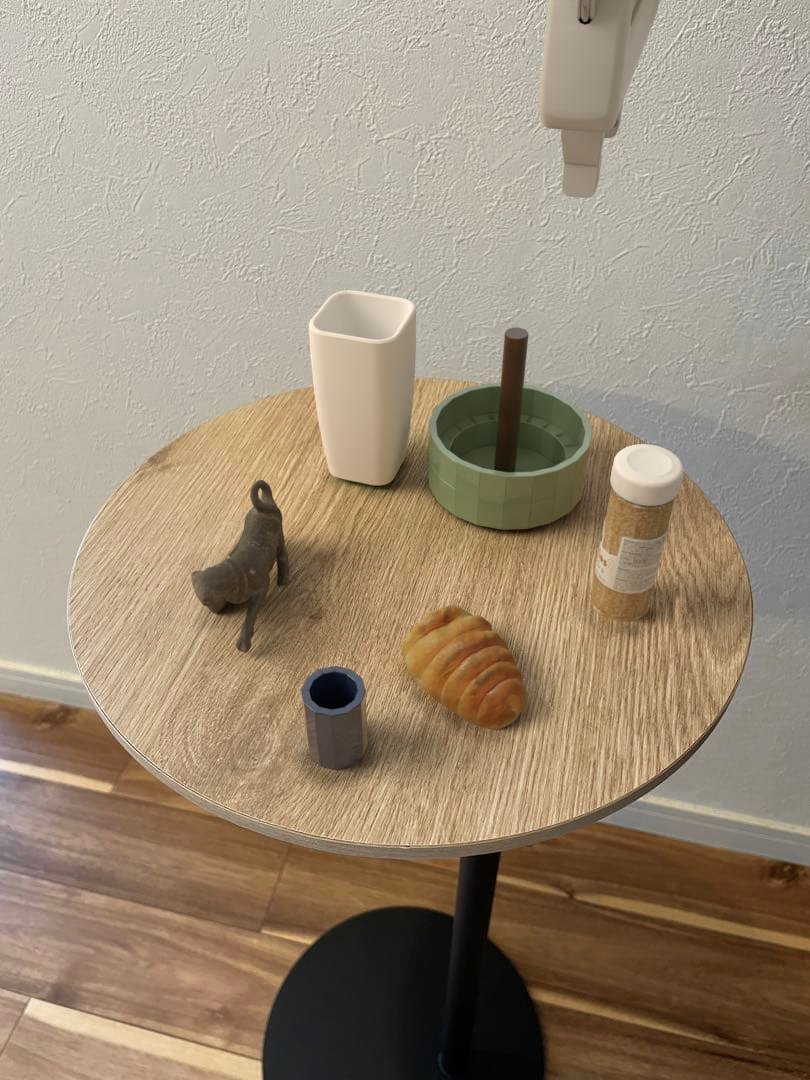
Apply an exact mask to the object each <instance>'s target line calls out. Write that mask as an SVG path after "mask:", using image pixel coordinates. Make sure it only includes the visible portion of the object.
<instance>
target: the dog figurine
mask: <svg viewBox="0 0 810 1080" xmlns="http://www.w3.org/2000/svg"><path fill="white" fill-rule="evenodd" d="M259 490H261V497H259ZM249 498H250V501H251V503H252V507H251V508H250V509H249V510H248V512H247V514H246V515H245V518H244V523H243V524H244V525H243V530H242V532H241V535H240V537H239V539H238V540H237V542H236V543H235V544H234V546H233V548H232V549H231V551H230V552H229V553H228V557H229V558H226V559H224V560H222V561H221V562H219V563H216V564H214V565H212V566H208V567H206V568H205V569H204V570H194V571H192V572H191V575H190V577H191V584H192V587H193V590H194V593H195V596H196V598H197V599H198V600H199V602H200V603H201V605H202V606H204V607H206V608H207V609H208V611H209V612H210V613H211V614H215V615H217V614H219V613H221V612H223V610H224V609H225V608H226V607H227V606H228V605H229V604H230V603H231V604H233V605H240V604H243V603H245V602H247V601H248V603H247V604H248V605H247V609H246V614H245V618H244V622H243V625H242V626H241V630H240V635H239V637H238V639H237V641H236V643H235V648H236V650H238V652H241V653H248V652H249V651H250V650H251V648H252V638H253V637H254V634H255V624H256V621H257V618H258V615H259V613H260V610H261V607H262V605H263V604H264V601H265V600H266V598H267V595H268V592H269V589H270V586H271V577H270V573H271V572H272V570H273V569H274V566H275V562H276V571H277V573H276V574H277V581H276V585H277V587H284V586H288V585H289V584H290V578H289V575H290V567H289V553H288V550H287V548H286V542H285V541H286V540H285V535H284V529H283V528H284V527H283V513H282V511H281V509H280V508H279V506H278V504H277V503H276V501H275V499H274V497H273V491H272V487H271V486H270V485H269V483H267V481H265V480H264V479H259V480H256V481H255V482H254V483H253V484H252V486H251V488H250V493H249Z"/></svg>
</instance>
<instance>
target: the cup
mask: <svg viewBox="0 0 810 1080" xmlns="http://www.w3.org/2000/svg"><path fill="white" fill-rule="evenodd" d="M308 334H309V335H308V337H309V338H308V339H309V352H310V365H311V373H312V383H313V393H314V400H315V406H316V413H317V421H318V426H319V431H320V436H321V443H322V447H323V450H324V455H325V459H326V463H327V464H326V465H327V468H328V471H329V474H330V475H332V476H333V477H335V478H338V479H341V480H345V481H349V482H354V483H359V484H364V485H368V486H373V487H375V486H376V487H380V486H385V485H388V484H390V483H391V482H393V480H395V478H396V476H397V474H398V472H399V471H400V469H401V467H402V464H403V463H404V461H405V459H406V454H407V449H408V443H409V436H410V430H411V421H412V414H413V407H414V406H413V405H414V393H415V379H416V360H417V359H416V358H417V356H416V355H417V354H416V353H417V306H416V305H415V303H414V302H412V301H411V300H410V299H407V298H404V297H399V296H392V295H386V294H380V293H379V294H378V293H372V292H367V291H359V290H351V289H347V290H340V291H337V292H335V293H333V294H331V295H330V296H329V297H327V299H326V300H325V301H324V303H323V304H322V305H321V306H320V307H319V309H318V310H317V311H316V313H315V314H314V315H313V316H312V318H311V319H310V320H309V322H308Z"/></svg>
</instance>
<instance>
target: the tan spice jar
mask: <svg viewBox="0 0 810 1080" xmlns="http://www.w3.org/2000/svg"><path fill="white" fill-rule="evenodd" d="M683 477H684V465H683V463H682V461H681V460H680V458H679V457H678V456H677V455H676V454H675V453H674V452H673V451H670V450H669V449H667V448H665V447H662V446H658V445H655V444H647V443H638V444H637V443H636V444H632V445H628V446H626V447H624V448H622V449H620V450H619V451H618V452H617V454H616V455H615V456H614V458H613V462H612V466H611V472H610V479H609V481H610V494H609V500H608V503H607V510H606V514H605V517H604V521H603V525H602V531H601V536H600V537H601V538H600V541H599V545H598V546H599V547H598V551H597V556H596V561H595V568H594V571H595V572H594V576H593V581H592V587H591V588H590V590H589V591H590V592H589V595H588V600H589V603H590V605H591V608H592V609H593V610H594V611H595V612H596V613H597V614H598V615H600V616H601V617H604V618H605V619H607V620H611V621H613V622H621V623H629V622H630V623H631V622H635V621H638V620H640V619H641V618H642V617H644V616H646V615H647V613H648V612H649V610H650V606H651V605H650V604H651V603H650V599H651V595H652V590H653V587H654V584H655V583H656V579H657V575H658V571H659V568H660V563H661V559H662V555H663V552H664V549H665V544H666V541H667V540H666V539H667V535H668V531H669V527H670V521H671V515H672V511H673V508H674V503H675V500H676V499H677V497H678V495H679V493H680V490H681V487H682V481H683Z"/></svg>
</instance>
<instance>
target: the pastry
mask: <svg viewBox="0 0 810 1080" xmlns="http://www.w3.org/2000/svg"><path fill="white" fill-rule="evenodd" d="M401 655H402V658H403V661H404V663H405V666H406V669H407V673H408V674H409V676H410V677H411V679H412V680H413V682H414V683H415V684H416V685H417V686H418V687H419V688H420V689H421V690H423V691H424V692H425V693H427V694H428V695H429V696H430V697H432V698H433V699H434V700H435V701H436V702H437V703H439V704H440V705H442V706H444V707H445V708H446V709H447V710H449V711H451V712H453V713H454V714H456V715H457V716H458V717H460V718H461V719H463V720H465V721H466V722H468V723H469V724H470V725H471V724H472V725H474V726H478V727H480V728H481V727H482V728H485V729H489V730H501V729H504V728H505V727H507V726H509V725H511V724H513V723H515V721H516V720H517V719H518V717H519V716H520V714H521V713H522V712H523V710H525V707H526V703H527V699H528V696H529V694H528V691H527V689H526V685H524V682H523V675H522V674H523V673H522V671H521V669H519V668H518V666H517V664H516V660H515V657H514V655H513V652H511V651H510V650H509V647H508V643H507V642H506V641H505V640H504V639H503V638H502V637H501V636H500V634H499V633H498V632H496V631H494V630H493V627H492V624H491V622H490V621H489V620H487V619H486V618H484V616H481V615H478V614H476V615H473V614H472V613H471V612H469V611H468V610H466V609H464V608H463V607H462V606H461V605H458V604H450V605H446V606H443V607H440V608H438V609H436V610H433V611H431V612H429V613H428V614H427V615H426V616H425V617H424V618H423V619H422V620H421V621H419V622H417V623H416V624H415V625H414V626H413V628H412V629H411V630H410V631H409V633H408V634H407V636H406V638H405V640H404V642H403V643H402V645H401Z"/></svg>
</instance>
